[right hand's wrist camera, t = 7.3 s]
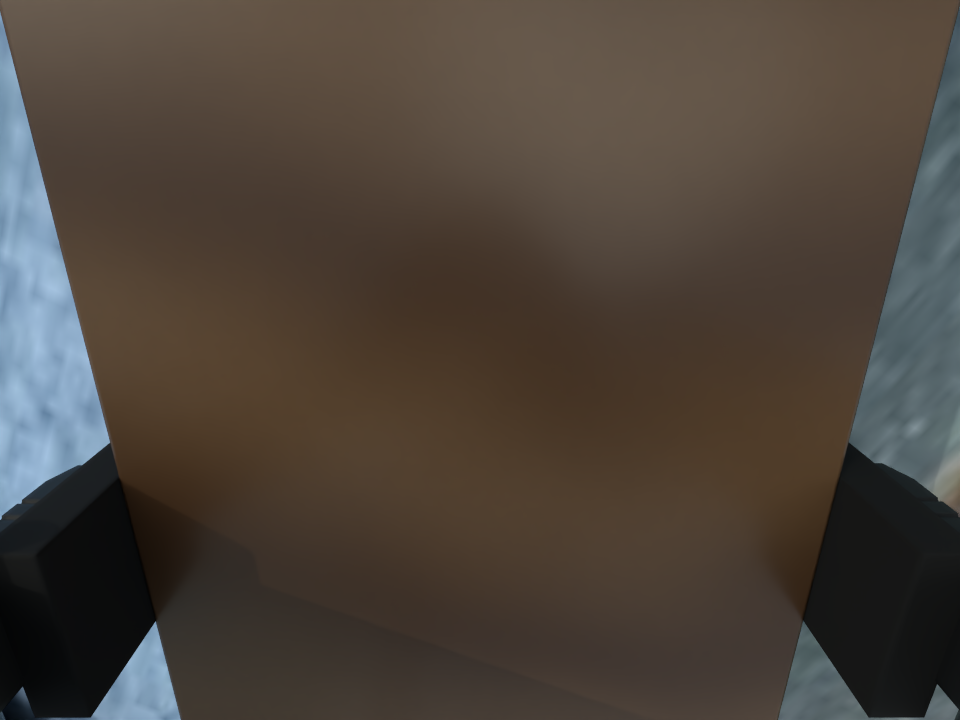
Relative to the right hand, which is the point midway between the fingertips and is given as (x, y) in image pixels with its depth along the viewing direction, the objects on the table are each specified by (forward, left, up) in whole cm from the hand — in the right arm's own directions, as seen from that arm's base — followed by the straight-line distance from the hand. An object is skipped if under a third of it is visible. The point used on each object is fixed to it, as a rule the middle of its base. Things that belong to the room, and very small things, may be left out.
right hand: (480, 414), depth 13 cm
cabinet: (+4, +3, -3) cm, 6 cm away
